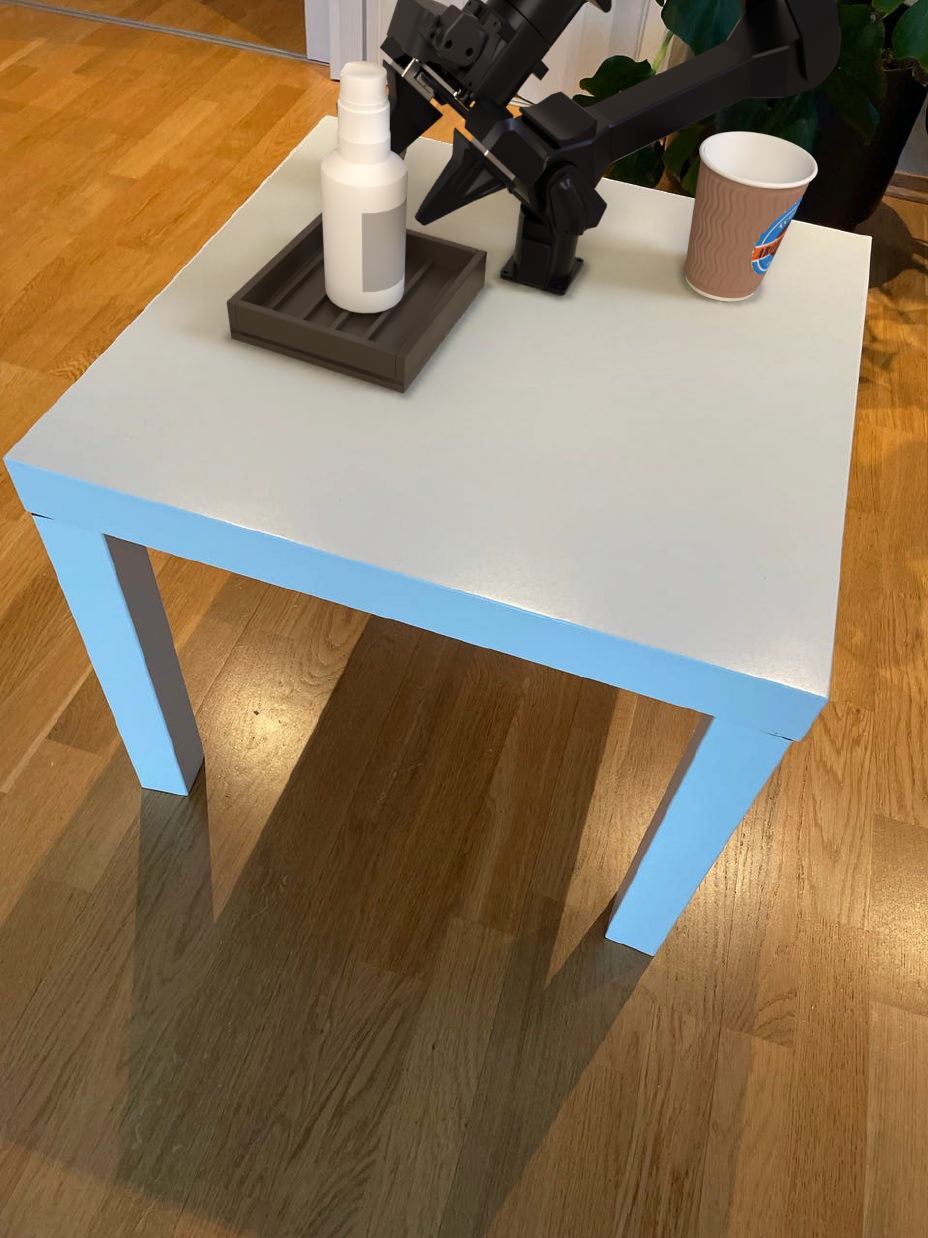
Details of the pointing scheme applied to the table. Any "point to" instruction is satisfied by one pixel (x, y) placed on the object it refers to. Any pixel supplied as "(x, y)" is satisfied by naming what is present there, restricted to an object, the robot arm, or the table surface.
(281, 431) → the table surface
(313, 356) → the ribbed square tray
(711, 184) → the coffee cup
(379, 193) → the spray bottle
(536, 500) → the table surface
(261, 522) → the table surface
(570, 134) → the robot arm
